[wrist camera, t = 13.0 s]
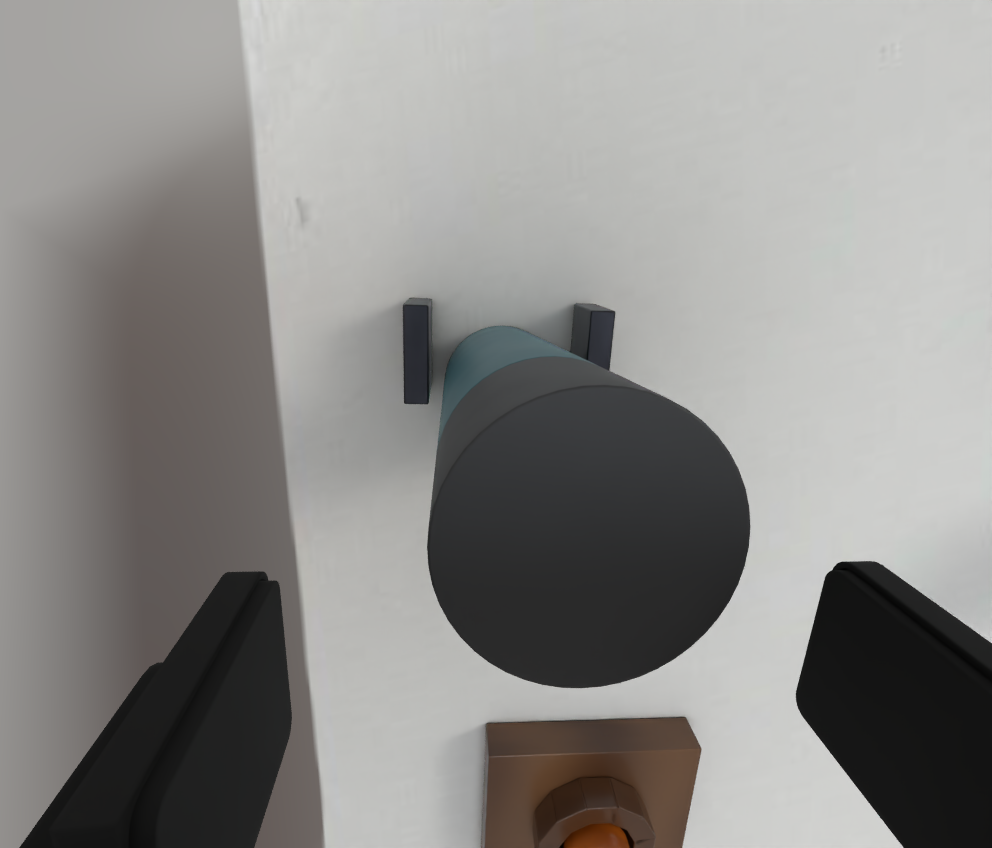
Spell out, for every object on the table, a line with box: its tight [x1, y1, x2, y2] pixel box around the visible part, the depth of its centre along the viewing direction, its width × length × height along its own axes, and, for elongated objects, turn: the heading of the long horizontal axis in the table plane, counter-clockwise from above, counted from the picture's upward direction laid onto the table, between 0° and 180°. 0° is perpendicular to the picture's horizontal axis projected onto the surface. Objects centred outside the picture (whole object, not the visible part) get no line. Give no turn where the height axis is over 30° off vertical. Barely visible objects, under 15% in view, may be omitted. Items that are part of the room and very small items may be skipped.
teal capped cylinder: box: [427, 326, 750, 688], centre depth 17 cm, size 5×17×5 cm
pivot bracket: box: [403, 298, 615, 404], centre depth 23 cm, size 8×4×3 cm, turn 88°
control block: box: [481, 718, 701, 848], centre depth 32 cm, size 12×10×4 cm
